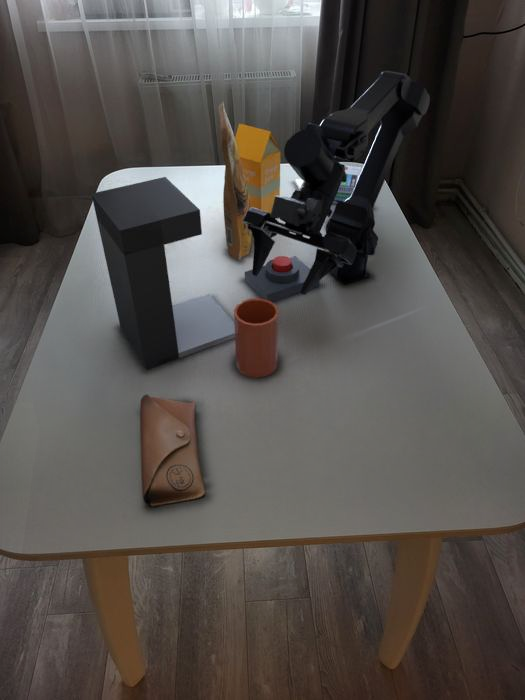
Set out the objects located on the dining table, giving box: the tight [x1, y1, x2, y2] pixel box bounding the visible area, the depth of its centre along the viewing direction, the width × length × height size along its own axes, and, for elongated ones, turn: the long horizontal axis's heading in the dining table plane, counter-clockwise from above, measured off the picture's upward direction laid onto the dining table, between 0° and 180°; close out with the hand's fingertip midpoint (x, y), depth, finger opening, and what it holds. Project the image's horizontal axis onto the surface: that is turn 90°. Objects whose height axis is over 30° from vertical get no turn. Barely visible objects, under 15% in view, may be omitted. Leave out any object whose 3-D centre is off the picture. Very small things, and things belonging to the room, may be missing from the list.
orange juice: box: [234, 122, 281, 214], centre depth 128 cm, size 8×9×20 cm
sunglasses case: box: [139, 394, 206, 507], centre depth 79 cm, size 18×7×7 cm
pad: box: [244, 255, 320, 303], centre depth 110 cm, size 12×9×4 cm
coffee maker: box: [91, 176, 235, 371], centre depth 92 cm, size 18×13×26 cm
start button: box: [273, 255, 292, 272], centre depth 109 cm, size 4×4×2 cm
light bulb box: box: [328, 165, 363, 220], centre depth 128 cm, size 11×7×11 cm, turn 168°
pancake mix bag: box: [218, 100, 253, 261], centre depth 115 cm, size 7×19×28 cm, turn 178°
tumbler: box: [233, 297, 280, 379], centre depth 90 cm, size 7×7×11 cm
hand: (277, 284), depth 89 cm, fingers open, 9 cm apart
